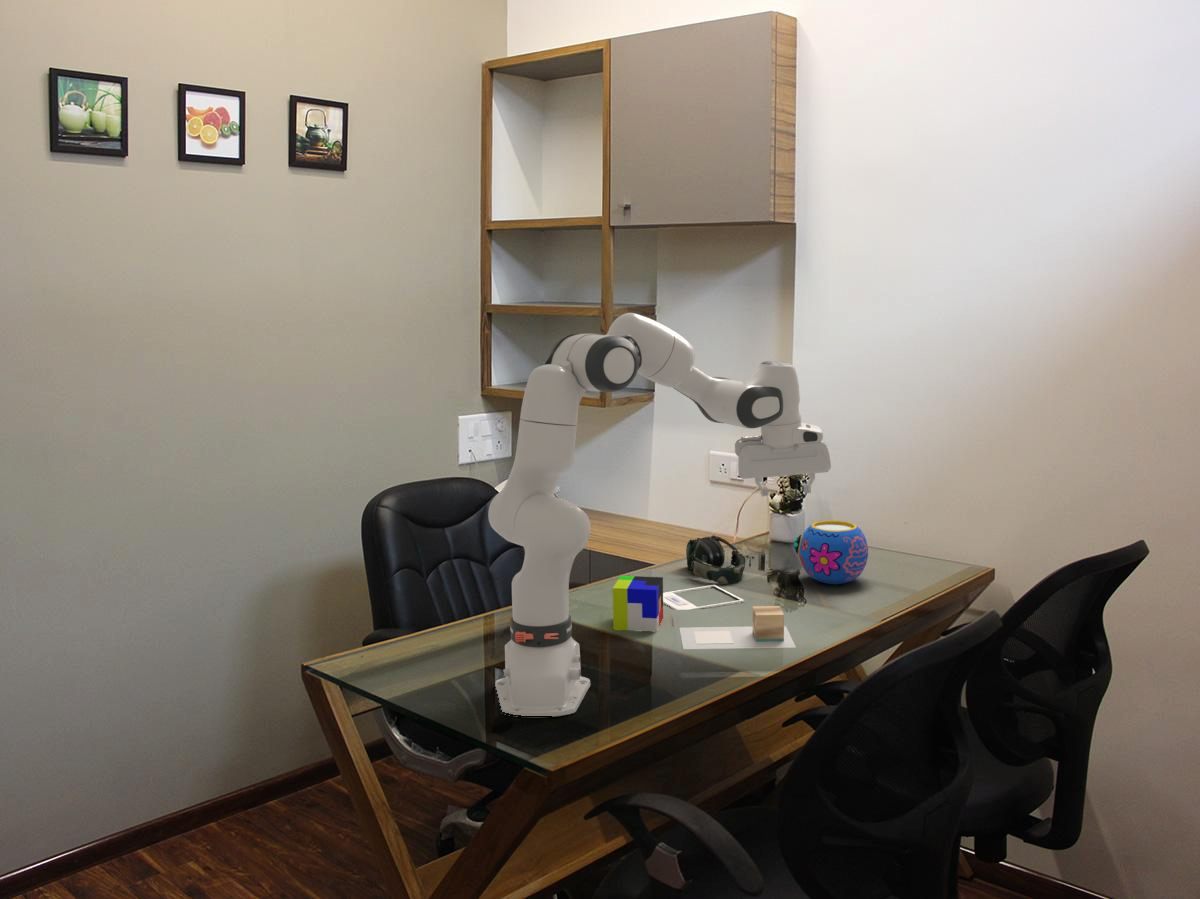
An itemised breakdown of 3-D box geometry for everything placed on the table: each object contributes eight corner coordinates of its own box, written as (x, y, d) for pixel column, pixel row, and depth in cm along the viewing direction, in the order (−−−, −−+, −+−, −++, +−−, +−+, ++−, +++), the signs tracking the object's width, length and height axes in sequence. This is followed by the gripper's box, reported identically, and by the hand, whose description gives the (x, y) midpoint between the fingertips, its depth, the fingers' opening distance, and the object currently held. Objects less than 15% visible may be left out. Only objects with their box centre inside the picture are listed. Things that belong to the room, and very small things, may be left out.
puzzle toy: (656, 632, 249) (656, 589, 247) (613, 630, 251) (612, 588, 249) (663, 618, 258) (662, 577, 256) (621, 616, 260) (620, 575, 259)
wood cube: (783, 641, 238) (784, 614, 237) (756, 641, 238) (756, 615, 237) (779, 632, 244) (779, 606, 243) (752, 632, 244) (752, 606, 243)
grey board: (796, 652, 234) (796, 647, 234) (683, 653, 235) (683, 648, 234) (785, 630, 248) (785, 625, 248) (679, 631, 248) (679, 627, 248)
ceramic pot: (827, 568, 297) (827, 514, 294) (881, 582, 283) (883, 525, 281) (783, 581, 286) (784, 525, 283) (838, 596, 272) (839, 537, 270)
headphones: (662, 552, 295) (710, 580, 279) (693, 514, 297) (742, 539, 282) (686, 578, 303) (734, 607, 287) (716, 541, 305) (765, 567, 290)
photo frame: (651, 593, 275) (714, 583, 282) (651, 598, 275) (714, 588, 282) (679, 610, 262) (744, 599, 269) (679, 614, 262) (744, 603, 269)
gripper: (734, 441, 239) (739, 501, 242) (829, 433, 236) (833, 494, 240) (733, 434, 245) (738, 493, 248) (826, 426, 243) (830, 486, 246)
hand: (785, 494), depth 244 cm, fingers open, 8 cm apart
